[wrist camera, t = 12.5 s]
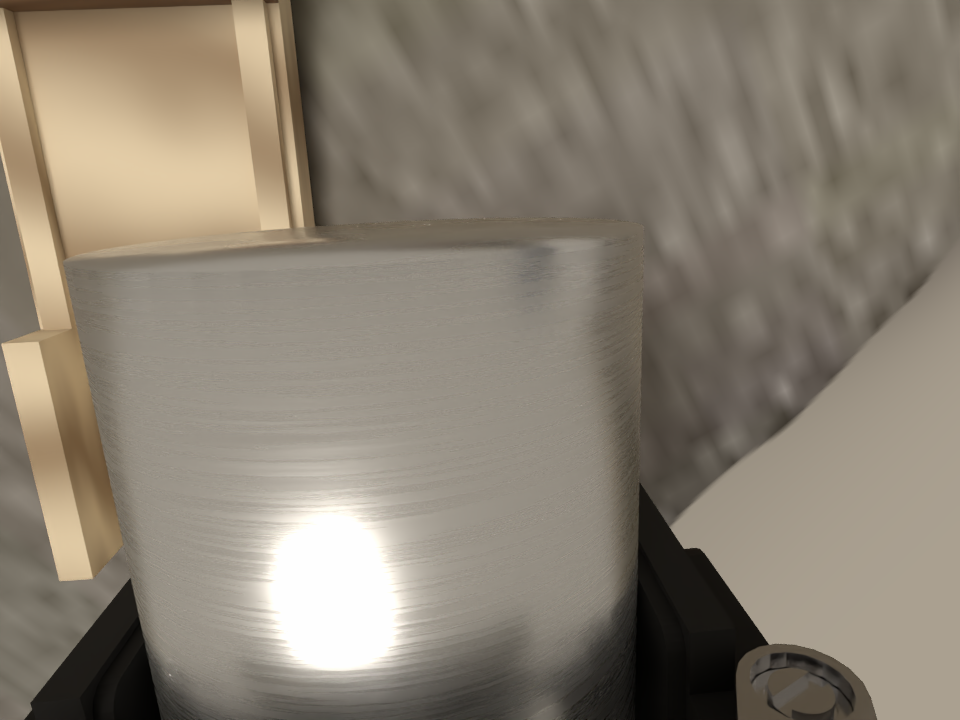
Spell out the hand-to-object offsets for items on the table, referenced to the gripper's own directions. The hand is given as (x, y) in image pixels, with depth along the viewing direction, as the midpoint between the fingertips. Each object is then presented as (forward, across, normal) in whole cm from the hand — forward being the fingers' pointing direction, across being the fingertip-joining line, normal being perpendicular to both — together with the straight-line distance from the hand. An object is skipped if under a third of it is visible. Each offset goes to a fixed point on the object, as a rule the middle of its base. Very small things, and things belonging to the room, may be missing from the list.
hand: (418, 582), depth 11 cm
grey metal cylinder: (+1, 0, -1) cm, 1 cm away
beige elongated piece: (+17, +9, -4) cm, 19 cm away
